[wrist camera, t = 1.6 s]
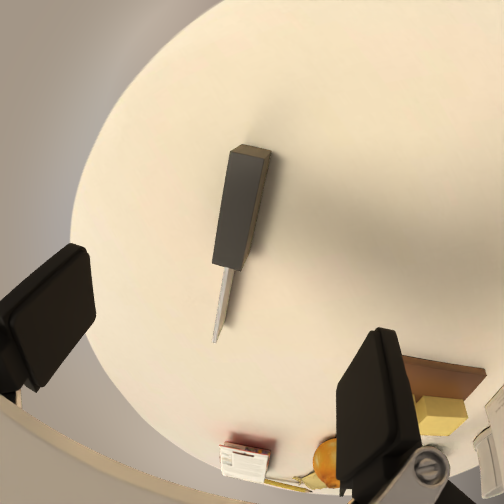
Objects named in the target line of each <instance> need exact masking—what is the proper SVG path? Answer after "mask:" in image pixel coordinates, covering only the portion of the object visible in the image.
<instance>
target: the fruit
mask: <svg viewBox="0 0 504 504" xmlns="http://www.w3.org/2000/svg"><path fill="white" fill-rule="evenodd" d="M313 468H314V471H315V473H316V475H317V476H318V478H319V479H320V480H321V481H322V482H324V483H325V485H326V486H327V487H328V488H333V489H334V488H339V487H340V481H339V480H337V479H336V438H334V439H330V440H327V441H325V442H323V443H322V444H321V445H320V446H319V447H318V448H317V450H316V451H315V453H314V456H313Z"/></svg>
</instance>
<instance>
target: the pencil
mask: <svg viewBox="0 0 504 504" xmlns="http://www.w3.org/2000/svg"><path fill="white" fill-rule="evenodd" d="M264 483H266V484H270V485H274V486H278V487H282V488H286V489H291V490H295V491H300V492H312V491H310V490H308V489H306V488H301V487H296V486H292V485H288V484H283V483H279V482H275V481H271V480H268V479H265V481H264Z"/></svg>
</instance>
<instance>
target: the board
mask: <svg viewBox="0 0 504 504" xmlns="http://www.w3.org/2000/svg"><path fill="white" fill-rule="evenodd" d="M402 357H403V361H404V365H405V369H406V374H407V376H408V378H409V382H410V386H411V391H412V394H414V396H415V402H416V403H417V402H418V401H419V400H420V399H421V398H422V397H423V396H432V397H441V398H452V399H463V401H465V399H466V398H467V397H468V396H469V395H470V394H471V393H472V392H473V391H474V390H475V389H476V388H477V386H478V385H479V384H480V383H481V382H482V381H483V380H484V378H485V377H486V376H487V375H486V372H485V369H481V368H474V367H467V366H461V365H454V364H448V363H442V362H436V361H430V360H425V359H419V358H414V357H408V356H403V355H402Z"/></svg>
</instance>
